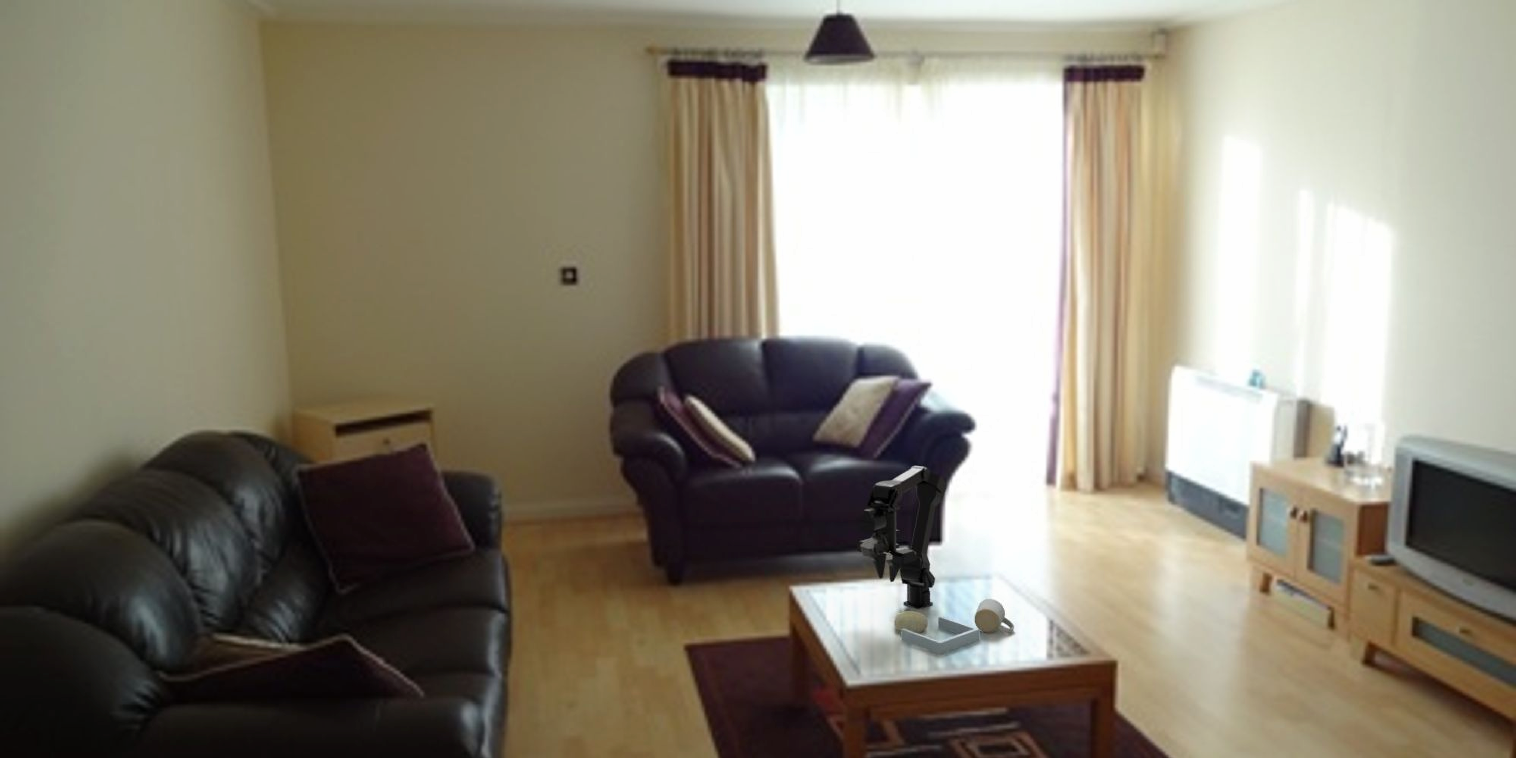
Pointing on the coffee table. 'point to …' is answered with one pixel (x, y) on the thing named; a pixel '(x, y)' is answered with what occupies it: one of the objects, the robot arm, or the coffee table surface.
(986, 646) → the coffee table surface
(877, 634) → the coffee table surface
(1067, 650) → the coffee table surface
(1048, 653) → the coffee table surface
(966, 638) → the corral
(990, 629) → the ceramic mug
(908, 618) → the sea urchin shell
